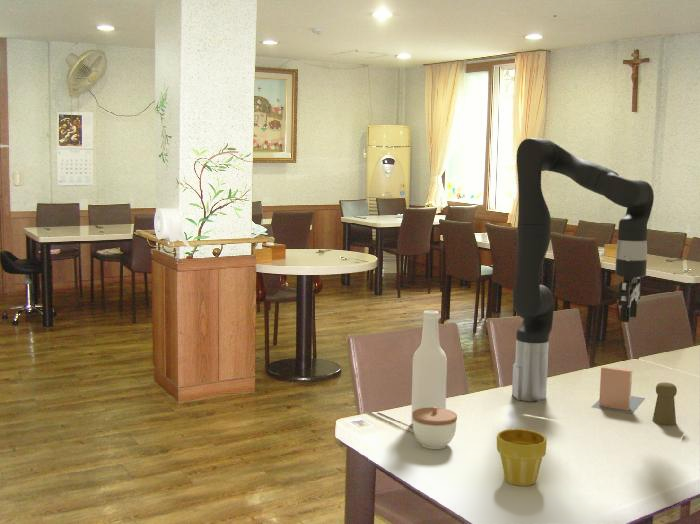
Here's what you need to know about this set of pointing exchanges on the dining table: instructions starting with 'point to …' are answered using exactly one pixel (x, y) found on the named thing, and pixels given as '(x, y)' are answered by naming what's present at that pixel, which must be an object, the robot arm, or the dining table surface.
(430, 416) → the lidded jar
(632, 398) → the mat
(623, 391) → the tile
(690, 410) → the dining table surface
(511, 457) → the plant pot
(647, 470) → the dining table surface
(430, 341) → the alcohol
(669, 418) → the pepper mill
